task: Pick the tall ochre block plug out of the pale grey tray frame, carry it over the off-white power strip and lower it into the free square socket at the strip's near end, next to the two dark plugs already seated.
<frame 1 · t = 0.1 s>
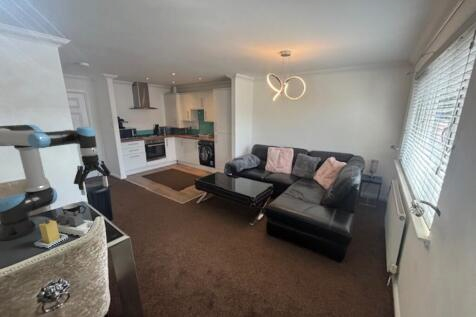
hand: (95, 190, 114), 28 cm above the table, fingers open, 13 cm apart
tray: (52, 241, 111), on the table
plug: (49, 230, 110), in the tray
mug: (76, 218, 136), on the table
strip: (78, 229, 123), on the table
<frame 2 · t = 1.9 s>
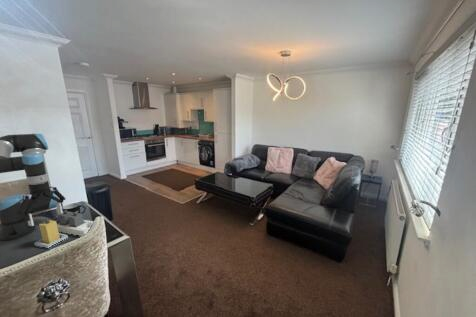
hand: (46, 218, 108), 15 cm above the table, fingers open, 13 cm apart
nothing on the table moved.
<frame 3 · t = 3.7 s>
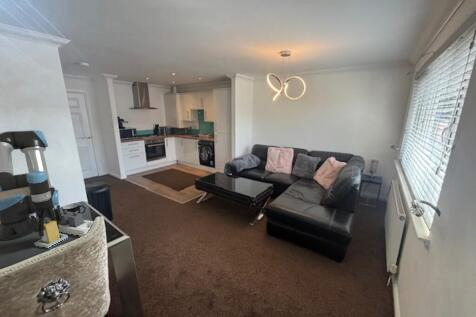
hand: (51, 237, 111), 3 cm above the table, fingers closed on plug, 5 cm apart
plug: (49, 230, 110), in the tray, touching gripper
everything else where it was.
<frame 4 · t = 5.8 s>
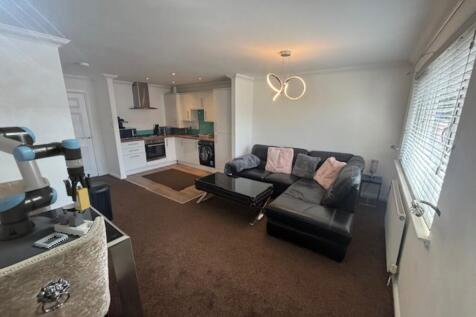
hand: (82, 203, 117), 19 cm above the table, fingers closed on plug, 5 cm apart
plug: (81, 197, 116), point 23 cm above the table, touching gripper
everything else where it was.
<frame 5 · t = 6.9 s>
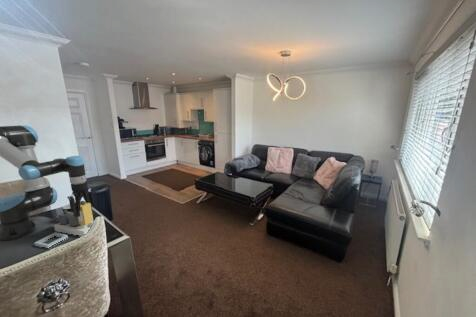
hand: (85, 218, 119), 9 cm above the table, fingers closed on plug, 5 cm apart
plug: (84, 212, 118), point 13 cm above the table, touching gripper
everything else where it was.
when the fingers open (5 cm above the table, at t = 8.0 s): plug drops 1 cm, resting on strip.
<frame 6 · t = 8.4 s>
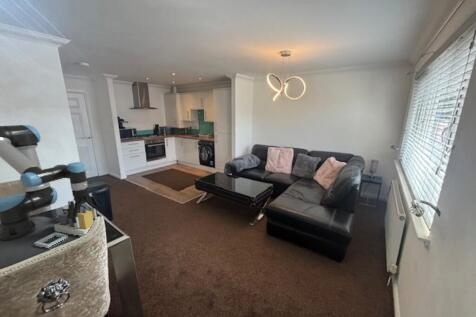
hand: (86, 222, 120), 6 cm above the table, fingers open, 10 cm apart
plug: (85, 219, 119), point 8 cm above the table, touching strip
everything else where it was.
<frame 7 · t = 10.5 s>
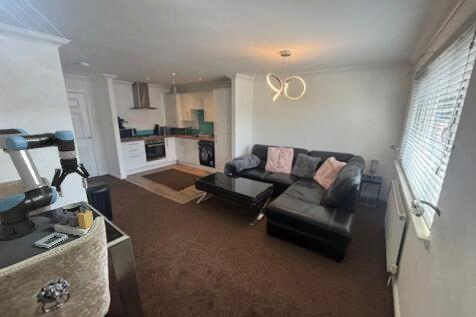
hand: (74, 192, 117), 26 cm above the table, fingers open, 13 cm apart
nothing on the table moved.
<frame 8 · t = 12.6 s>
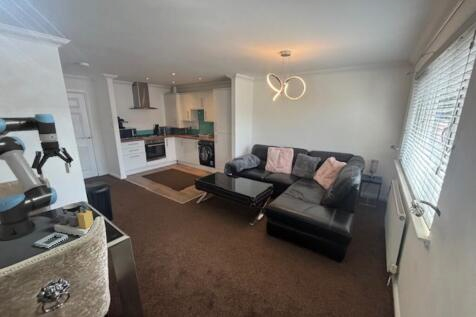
hand: (56, 176, 118), 35 cm above the table, fingers open, 13 cm apart
nothing on the table moved.
at the end: plug 0.0 cm from the target spot on the strip, point 8.0 cm above the strip's base; plug tilted 0°; the gripper is holding nothing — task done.
